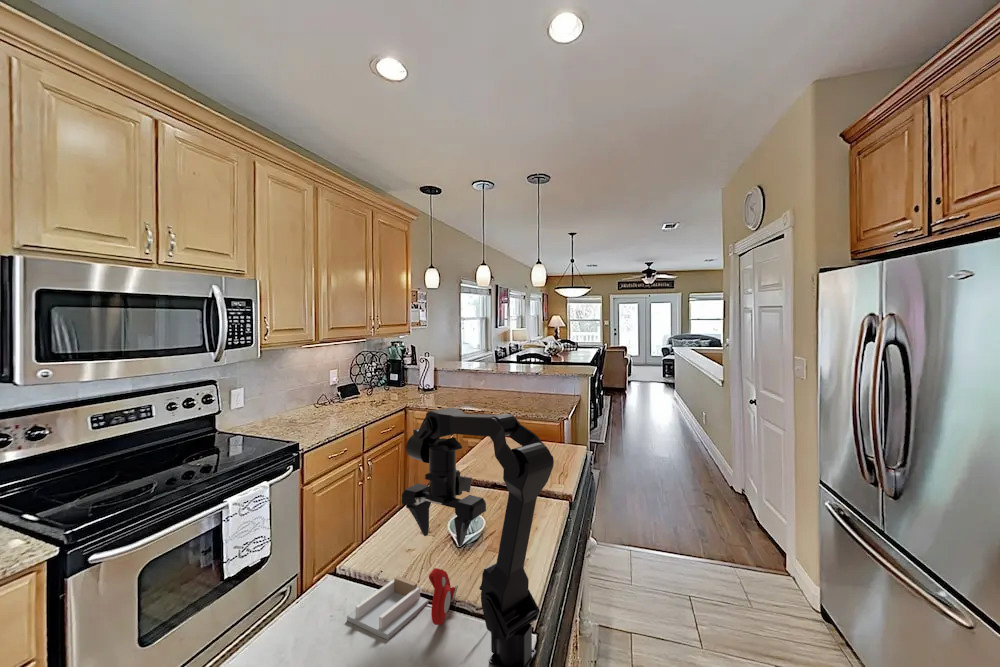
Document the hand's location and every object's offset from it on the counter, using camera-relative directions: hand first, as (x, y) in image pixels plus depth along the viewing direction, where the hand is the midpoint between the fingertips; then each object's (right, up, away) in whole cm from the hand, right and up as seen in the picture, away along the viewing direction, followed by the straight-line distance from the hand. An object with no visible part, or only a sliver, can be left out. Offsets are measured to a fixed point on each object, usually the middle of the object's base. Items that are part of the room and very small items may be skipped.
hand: (442, 540), depth 92 cm
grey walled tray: (-11, -13, -4) cm, 17 cm away
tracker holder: (0, -13, -5) cm, 14 cm away
